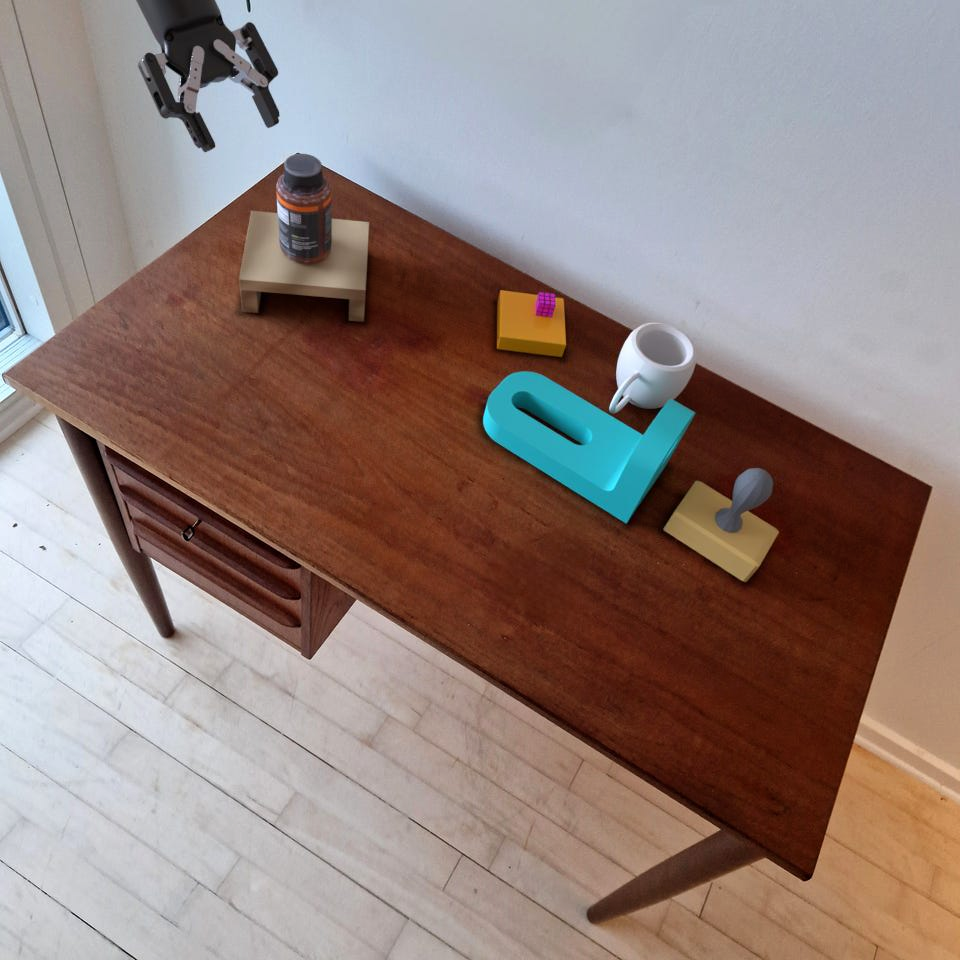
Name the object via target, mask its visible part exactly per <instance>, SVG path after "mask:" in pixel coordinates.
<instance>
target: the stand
mask: <svg viewBox="0 0 960 960" xmlns="http://www.w3.org/2000/svg"><path fill="white" fill-rule="evenodd" d="M369 233H370V222H369V221H363V220H362V221H361V220H351V219H340V218H332V244H331V251H330V253H329V254H328V256H327V257H326V258H324V259H323V260H321V261H318V262H315V263H299V262H296V261H293V260H291V259H289V258H288V257H286V256H285V255H284V253H283V252H282V250H281V248H280V241H279V225H278V212H270V211H259V210H250V216H249V223H248V227H247V232H246V238H245V243H244V249H243V255H242V259H241V265H240V271H239V277H238V282H239V293H240V303H241V311H242V313H253V314H258V313H259V310H260V305H261V304H260V303H261V297H262V293H272V294H282V295H283V294H285V295H295V296H296V295H297V296H309V297H321V298H331V299H344V300H348V321H349V322H350V321H351V322H363V323H364V322H365V312H366V311H365V308H366V294H367V293H366V292H367V272H368V256H369V255H368V252H369Z"/></svg>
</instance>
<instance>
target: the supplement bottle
mask: <svg viewBox="0 0 960 960" xmlns="http://www.w3.org/2000/svg"><path fill="white" fill-rule="evenodd" d="M275 192H276V205H277V206H276V207H277V213H278V225H279V241H280V248H281V250H282V252H283V253H284V255H285V256H286V257H288V258H289V259H291V260H293V261H296V262H299V263H315V262H318V261H321V260H323V259H324V258H326V257H327V256H328V254H329V253H330V251H331V244H332V219H333V218H332V217H333V216H332V214H333V213H332V186H331V183H330V181H329V179H328V177H326V175H324V173H323V165H322V162H321V161H320V159H319V158H317V157H316V156H315V155H311V154H307V153H295V154H291V155H290V156H288V157H287V158H286V159H285V160H284V163H283V173H282V174H281V175H280V176H279V177H278V179H277V181H276V187H275Z"/></svg>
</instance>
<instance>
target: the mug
mask: <svg viewBox="0 0 960 960" xmlns="http://www.w3.org/2000/svg"><path fill="white" fill-rule="evenodd" d="M697 360H698V357H697V349H696V346H695V344H694V342H693V341H692V339H691V338H690V337H689V335H687V334H686V333H685V332H684V331H682V330H681V329H680V328H678V327H676V326H674V325H671V324H669V323H664V322H655V321H654V322H646V323H643V324H641V325H639V326H638V327H636V328H635V329H634V330H632V331H631V332H630V334H629V335H628V337H627V338H626V340H625V341H624V343H623V345H622V347H621V350H620V352H619V355H618V357H617V364H616V370H615V371H616V372H615V378H616V385H617V390H616V392H615V394H614V395H613V397H612V399H611V402H610V404H609V408H608V410H609V413H610V414H613V415H614V414H616V413H618V412H620V411H621V410H622V409H623V408H624V407H625V406H626V405H627V404H628V403H630V404H631V405H633V406H635V407H638V408H641V409H644V410H651V409H659V408H663V407H664V405H665V404H666V403H667V401H668V400H669V399H670V398H671V399H673V400H674V401H675V399H676V398H677V397H678V396H679V395H680V394H681V393H682V392H683V390H684V389H685V388H686V387H687V385H688V383H689V381H690V380H691V378H692V376H693V374H694V371H695V368H696V364H697ZM621 397H623V398H622V399H621ZM620 399H621V400H620ZM619 401H620V402H619Z"/></svg>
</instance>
